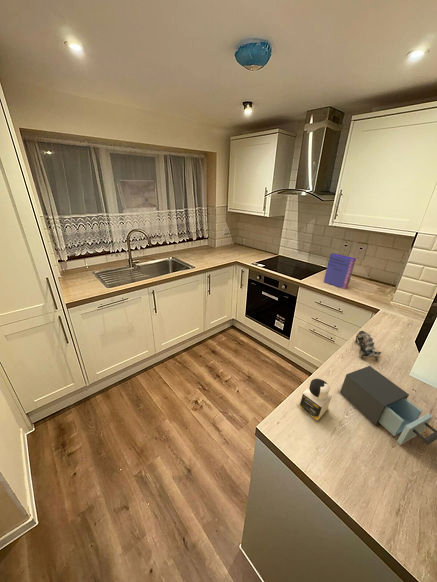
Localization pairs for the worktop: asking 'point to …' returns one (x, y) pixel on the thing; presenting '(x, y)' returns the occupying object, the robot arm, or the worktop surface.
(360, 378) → the dark grey drawer box
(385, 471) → the worktop surface
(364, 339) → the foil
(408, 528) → the worktop surface
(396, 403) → the light blue drawer
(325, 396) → the medicine bottle
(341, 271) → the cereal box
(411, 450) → the worktop surface
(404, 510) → the worktop surface
